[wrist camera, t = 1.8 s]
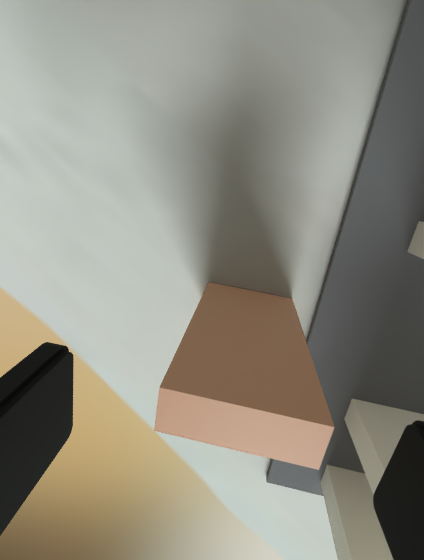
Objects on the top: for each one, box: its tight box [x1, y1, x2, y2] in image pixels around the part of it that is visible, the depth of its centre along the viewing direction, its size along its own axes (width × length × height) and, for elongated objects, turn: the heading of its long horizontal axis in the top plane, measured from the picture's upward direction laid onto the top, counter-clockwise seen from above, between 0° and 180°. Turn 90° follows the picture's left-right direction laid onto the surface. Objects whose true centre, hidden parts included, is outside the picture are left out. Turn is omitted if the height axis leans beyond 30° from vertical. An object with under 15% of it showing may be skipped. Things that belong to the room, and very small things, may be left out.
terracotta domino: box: [154, 282, 334, 470], centre depth 14 cm, size 2×5×10 cm, turn 82°
